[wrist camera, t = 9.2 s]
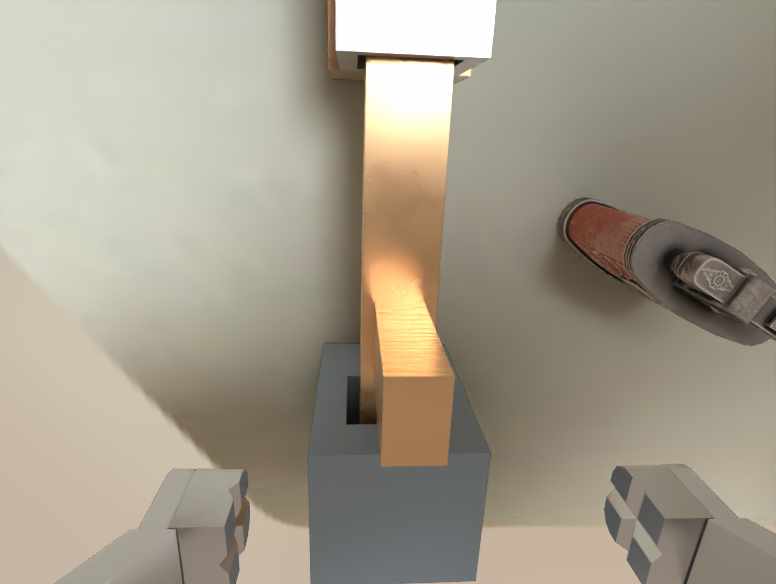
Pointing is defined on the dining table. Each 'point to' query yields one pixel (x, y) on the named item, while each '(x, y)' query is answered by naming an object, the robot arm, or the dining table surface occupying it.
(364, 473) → the socket block
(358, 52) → the sleeve
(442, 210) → the stepped wooden block
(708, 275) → the lighter
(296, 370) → the dining table surface
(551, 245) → the dining table surface
